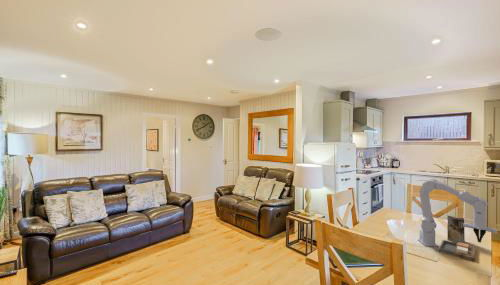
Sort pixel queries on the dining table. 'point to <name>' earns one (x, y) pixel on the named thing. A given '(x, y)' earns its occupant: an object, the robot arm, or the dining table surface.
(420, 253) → the dining table surface
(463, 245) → the terracotta tile
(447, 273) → the dining table surface
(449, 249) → the tray
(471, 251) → the walnut ledge
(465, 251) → the cream tile
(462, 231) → the coffee box
